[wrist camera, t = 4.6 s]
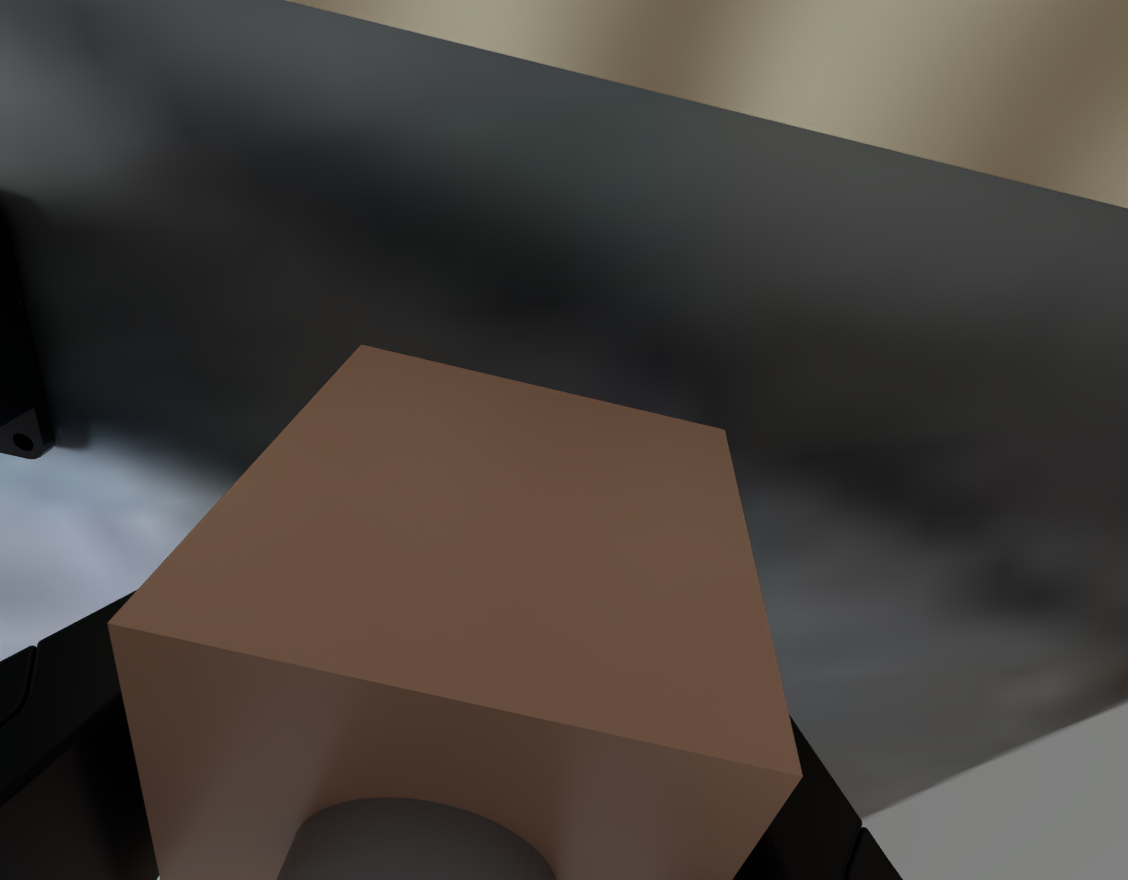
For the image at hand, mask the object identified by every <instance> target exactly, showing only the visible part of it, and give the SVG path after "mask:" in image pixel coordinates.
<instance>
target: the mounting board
mask: <svg viewBox="0 0 1128 880" xmlns="http://www.w3.org/2000/svg"><path fill="white" fill-rule="evenodd" d="M286 1H290V2H295V3H299V4H303V5H307V6H311V7H315V8H319V9H323V10H327V11H331V12H335V13H339V14H343V15H347V16H351V17H355V18H359V19H363V20H367V21H371V22H375V23H379V24H384V25H388V26H392V27H396V28H400V29H404V30H408V31H412V32H416V33H420V34H424V35H428V36H432V37H436V38H440V39H444V40H448V41H452V42H456V43H460V44H464V45H469V46H473V47H477V48H481V49H485V50H489V51H493V52H497V53H501V54H505V55H509V56H513V57H517V58H521V59H525V60H529V61H533V62H537V63H541V64H545V65H549V66H553V67H558V68H562V69H566V70H570V71H574V72H578V73H582V74H586V75H590V76H594V77H598V78H602V79H606V80H610V81H614V82H618V83H622V84H626V85H630V86H634V87H638V88H642V89H647V90H651V91H655V92H659V93H663V94H667V95H671V96H675V97H679V98H683V99H687V100H691V101H695V102H699V103H703V104H707V105H711V106H715V107H719V108H723V109H727V110H731V111H736V112H740V113H744V114H748V115H752V116H756V117H760V118H764V119H768V120H772V121H776V122H780V123H784V124H788V125H792V126H796V127H800V128H804V129H808V130H812V131H816V132H821V133H825V134H829V135H833V136H837V137H841V138H845V139H849V140H853V141H857V142H861V143H865V144H869V145H873V146H877V147H881V148H885V149H889V150H893V151H897V152H901V153H905V154H910V155H914V156H918V157H922V158H926V159H930V160H934V161H938V162H942V163H946V164H950V165H954V166H958V167H962V168H966V169H970V170H974V171H978V172H982V173H986V174H990V175H994V176H999V177H1003V178H1007V179H1011V180H1015V181H1019V182H1023V183H1027V184H1031V185H1035V186H1039V187H1043V188H1047V189H1051V190H1055V191H1059V192H1063V193H1067V194H1071V195H1075V196H1079V197H1083V198H1088V199H1092V200H1096V201H1100V202H1104V203H1108V204H1112V205H1116V206H1120V207H1124V208H1128V0H286Z"/></svg>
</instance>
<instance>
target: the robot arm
mask: <svg viewBox="0 0 1128 880" xmlns="http://www.w3.org/2000/svg"><path fill="white" fill-rule="evenodd" d="M54 445H55V435H54V431H53V426H52V422H51V417H50V413H49V408H48V403H47V399H46V394H45V390H44V385H43V381H42V376H41V372H40V367H39V363H38V358H37V354H36V349H35V344H34V340H33V335H32V331H31V326H30V322H29V317H28V313H27V308H26V304H25V299H24V294H23V290H22V285H21V281H20V276H19V272H18V267H17V263H16V258H15V254H14V249H13V245H12V240H11V235H10V231H9V226H8V222H7V219H6V216H5V214H4V211H3V210H2V209H1V208H0V453H4V454H9V455H13V456H18V457H22V458H27V459H36V458H39V457H41V456H42V455H44V454H45V453H47V452H48V451H50V450H51V449H52V448H53V447H54ZM136 591H137V590H136ZM136 591H134V592H132V593H130V594H128V595H126V596H124V597H123V598H121V599H119V600H117V601H115V602H113V603H111V604H109V605H107V606H105V607H104V608H102V609H100V610H98V611H96V612H94V613H92V614H90V615H88V616H86V617H85V618H83V619H81V620H79V621H77V622H75V623H73V624H71V625H69V626H67V627H66V628H64V629H62V630H60V631H58V632H56V633H54V634H52V635H50V636H48V637H46V638H45V639H43V640H41V641H39V643H38V644H37V647H36V646H29V647H27V648H25V649H23V650H21V651H19V652H17V653H16V654H14V655H12V656H10V657H8V658H6V659H4V660H2V661H0V880H157V878H158V876H159V871H158V866H157V861H156V857H155V852H154V847H153V842H152V837H151V832H150V827H149V823H148V818H147V813H146V808H145V803H144V798H143V794H142V789H141V784H140V779H139V774H138V769H137V764H136V760H135V755H134V750H133V745H132V740H131V735H130V731H129V726H128V721H127V716H126V711H125V706H124V702H123V697H122V692H121V687H120V682H119V677H118V672H117V668H116V663H115V658H114V653H113V648H112V643H111V639H110V634H109V629H108V624H107V623H108V622H109V621H110V620H111V619H112V617H113V616H114V615H115V614H116V613H117V612H118V611H119V610H120V609H121V608H122V606H123V605H124V604H125V603H126V602H127V601H128V600H129V599H130V598H131V597H132V596H133V594H134V593H135V592H136ZM789 717H790V722H791V726H792V731H793V735H794V739H795V744H796V748H797V753H798V757H799V762H800V766H801V771H802V775H803V777H802V778H801V780H800V781H799V783H798V784H797V786H796V787H795V789H794V790H793V792H792V793H791V794H790V796H789V797H788V799H787V800H786V802H785V803H784V805H783V806H782V808H781V809H780V811H779V812H778V813H777V815H776V816H775V818H774V819H773V821H772V822H771V824H770V825H769V827H768V828H767V830H766V831H765V832H764V834H763V835H762V837H761V838H760V840H759V841H758V843H757V844H756V846H755V847H754V849H753V850H752V852H751V853H750V854H749V856H748V857H747V859H746V860H745V862H744V863H743V865H742V866H741V868H740V869H739V871H738V872H737V873H736V875H735V876H734V878H733V879H732V880H903V879H902V878H901V876H900V875H899V874H898V872H897V871H896V869H895V868H894V867H893V865H892V864H891V862H890V861H889V860H888V858H887V857H886V855H885V854H884V852H883V851H882V849H881V848H880V846H879V845H878V844H877V842H876V841H875V839H874V838H873V836H872V835H871V833H870V832H869V830H868V829H867V828H865V827H862V821H861V819H860V818H859V816H858V815H857V813H856V812H855V810H854V809H853V807H852V806H851V804H850V803H849V801H848V800H847V798H846V797H845V796H844V794H843V793H842V791H841V790H840V788H839V787H838V785H837V784H836V782H835V781H834V779H833V778H832V776H831V775H830V774H829V772H828V771H827V769H826V768H825V766H824V765H823V763H822V762H821V760H820V759H819V757H818V756H817V754H816V753H815V752H814V750H813V749H812V747H811V746H810V744H809V743H808V741H807V740H806V738H805V737H804V735H803V734H802V732H801V731H800V730H799V728H798V727H797V725H796V724H795V722H794V721H793V719H792V718H791V716H790V715H789ZM861 827H862V828H861Z"/></svg>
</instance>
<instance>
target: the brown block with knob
mask: <svg viewBox="0 0 1128 880" xmlns="http://www.w3.org/2000/svg"><path fill="white" fill-rule="evenodd" d="M107 624H108V629H109V634H110V639H111V643H112V648H113V653H114V658H115V663H116V668H117V672H118V677H119V682H120V687H121V692H122V697H123V702H124V706H125V711H126V716H127V721H128V726H129V731H130V735H131V740H132V745H133V750H134V755H135V760H136V764H137V769H138V774H139V779H140V784H141V789H142V794H143V798H144V803H145V808H146V813H147V818H148V823H149V827H150V832H151V837H152V842H153V847H154V852H155V857H156V861H157V866H158V871H159V876H160V880H732V879H733V878H734V876H735V875H736V873H737V872H738V871H739V869H740V868H741V866H742V865H743V863H744V862H745V860H746V859H747V857H748V856H749V854H750V853H751V852H752V850H753V849H754V847H755V846H756V844H757V843H758V841H759V840H760V838H761V837H762V835H763V834H764V832H765V831H766V830H767V828H768V827H769V825H770V824H771V822H772V821H773V819H774V818H775V816H776V815H777V813H778V812H779V811H780V809H781V808H782V806H783V805H784V803H785V802H786V800H787V799H788V797H789V796H790V794H791V793H792V792H793V790H794V789H795V787H796V786H797V784H798V783H799V781H800V780H801V778H802V777H803V775H802V771H801V766H800V762H799V757H798V753H797V748H796V744H795V739H794V735H793V731H792V726H791V722H790V717H789V713H788V708H787V704H786V699H785V695H784V691H783V686H782V682H781V677H780V673H779V668H778V664H777V659H776V655H775V651H774V646H773V642H772V637H771V633H770V628H769V624H768V620H767V615H766V611H765V606H764V602H763V597H762V593H761V588H760V584H759V580H758V575H757V571H756V566H755V562H754V557H753V553H752V548H751V544H750V540H749V535H748V531H747V526H746V522H745V517H744V513H743V508H742V504H741V500H740V495H739V491H738V486H737V482H736V477H735V473H734V469H733V464H732V460H731V455H730V451H729V446H728V442H727V437H726V433H725V430H724V429H720V428H715V427H711V426H707V425H703V424H698V423H694V422H690V421H686V420H681V419H677V418H673V417H668V416H664V415H660V414H656V413H651V412H647V411H643V410H639V409H634V408H630V407H626V406H622V405H617V404H613V403H609V402H605V401H600V400H596V399H592V398H587V397H583V396H579V395H575V394H570V393H566V392H562V391H558V390H553V389H549V388H545V387H541V386H536V385H532V384H528V383H524V382H519V381H515V380H511V379H506V378H502V377H498V376H494V375H489V374H485V373H481V372H477V371H472V370H468V369H464V368H460V367H455V366H451V365H447V364H443V363H438V362H434V361H430V360H425V359H421V358H417V357H413V356H408V355H404V354H400V353H396V352H391V351H387V350H383V349H379V348H374V347H370V346H366V345H362V344H361V345H360V346H359V347H358V349H357V350H356V351H355V352H354V353H353V354H352V355H351V356H350V357H349V358H348V360H347V361H346V362H345V363H344V364H343V365H342V366H341V367H340V368H339V369H338V371H337V372H336V373H335V374H334V375H333V376H332V377H331V378H330V379H329V380H328V382H327V383H326V384H325V385H324V386H323V387H322V388H321V389H320V390H319V391H318V392H317V394H316V395H315V396H314V397H313V398H312V399H311V400H310V401H309V402H308V403H307V405H306V406H305V407H304V408H303V409H302V410H301V411H300V412H299V413H298V414H297V416H296V417H295V418H294V419H293V420H292V421H291V422H290V423H289V424H288V425H287V427H286V428H285V429H284V430H283V431H282V432H281V433H280V434H279V435H278V436H277V437H276V439H275V440H274V441H273V442H272V443H271V444H270V445H269V446H268V447H267V448H266V450H265V451H264V452H263V453H262V454H261V455H260V456H259V457H258V458H257V459H256V461H255V462H254V463H253V464H252V465H251V466H250V467H249V468H248V469H247V470H246V472H245V473H244V474H243V475H242V476H241V477H240V478H239V479H238V480H237V481H236V482H235V484H234V485H233V486H232V487H231V488H230V489H229V490H228V491H227V492H226V493H225V495H224V496H223V497H222V498H221V499H220V500H219V501H218V502H217V503H216V504H215V506H214V507H213V508H212V509H211V510H210V511H209V512H208V513H207V514H206V515H205V516H204V518H203V519H202V520H201V521H200V522H199V523H198V524H197V525H196V526H195V527H194V529H193V530H192V531H191V532H190V533H189V534H188V535H187V536H186V537H185V538H184V540H183V541H182V542H181V543H180V544H179V545H178V546H177V547H176V548H175V549H174V551H173V552H172V553H171V554H170V555H169V556H168V557H167V558H166V559H165V560H164V561H163V563H162V564H161V565H160V566H159V567H158V568H157V569H156V570H155V571H154V572H153V574H152V575H151V576H150V577H149V578H148V579H147V580H146V581H145V582H144V583H143V585H142V586H141V587H140V588H139V589H138V590H137V591H136V592H135V593H134V594H133V596H132V597H131V598H130V599H129V600H128V601H127V602H126V603H125V604H124V605H123V606H122V608H121V609H120V610H119V611H118V612H117V613H116V614H115V615H114V616H113V617H112V619H111V620H110V621H109V622H108V623H107Z"/></svg>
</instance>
